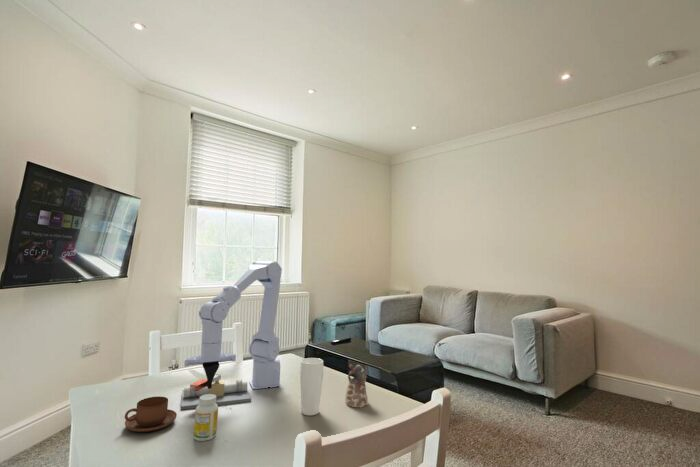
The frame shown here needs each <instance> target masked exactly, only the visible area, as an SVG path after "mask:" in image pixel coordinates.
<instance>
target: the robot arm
mask: <svg viewBox="0 0 700 467" xmlns="http://www.w3.org/2000/svg"><path fill="white" fill-rule="evenodd" d="M282 271H283V270H282V267H281V265H280V264H279V262H277V261H266V260H265V261H261V260H255V261H253V262H252V263H251V264H249V266H248V268H247V270H246V271H245V273H244V274H243V275H242V276H241V277H239V279H238V280H237V281H236V282H235V283H234V284H233V285H227V286H224V287H222V291H221V292H220V293H218V294H217V295H216V296H213V298H212V300H211V301H206V302H205V303H204V304H203V305H202V306H201V307H200V310H199V311H198V315H199V318H200V320H201V325H202V327H201V328H202V329H201V330H202V331H201V348H200V355H197V356H193V357H192V356H191V357H187V358H186V357H185V358H184V360H183V366H184V367H185V368H186V367H189V366H199V365H202V368H203V370H204V373H205V376H206V379H207V387H208V389H211V387H212V381H213V378H214V376H215V374H217V371H218V370H219V368H220V363H223V362H224V363H225V362H236V360H237V359H236V358H237V355H236V353H233V352H232V353H222V340H223V339H222V338H223V321H224V320H226V318H227V316H228V314H229V311H230V309H231V308H232V307H233V306H234V305H235V304H236V303H237V302H238V301H239V300H240V299H241V297H242V293H243V292H244V291H245V290H247V288H249V286H252V284H254V283H255V282H256V281H257V282H259V283H261V285H262V286H263V287H264V290H263V299H262V304H261V311H260V318H259V319H260V320H259V326H258V331H256V333H254V334H253V335H252V339H251V341H250V344H249V347H248V351H249V354H250V356H251V359H252V378H251V380H250V381H249V385H250V386H251V389H252V390H258V389H260V390H261V389H268V387H270V388H277V386H279V387H280V386H281V383H280V382H281V361H280V358H278V356H279V353H280V345H279V342H280V338H279V337H278V335H277V334H276V333H275V325H276V320H277V318H276V317H277V311H278V310H277V309H278V304H279V303H278V302H279V295H280V290H281V279H282V278H281V277H282Z"/></svg>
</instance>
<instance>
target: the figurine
mask: <svg viewBox="0 0 700 467" xmlns="http://www.w3.org/2000/svg"><path fill="white" fill-rule="evenodd" d="M348 367H349V369H350V371H349V372H348V376H347V379H348V382H347V383H348V384H347V387H346V392H345V404H346V405H347V406H348V405H349V406H348V407H350V406H352V407H351V408H353V407H360V408H363V407H362V406H365V405H367V406H368V404H369V403H368V401H369V400H368V394H367V387H366V382H367V378H368V375H367V374H366V371H365V369H364V368H363V367H362V366H361V364H356V365H355V367H354V365H353V364H349V366H348ZM351 375H353V377H351ZM367 403H368V404H367ZM365 407H366V406H365Z"/></svg>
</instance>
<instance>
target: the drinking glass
mask: <svg viewBox="0 0 700 467" xmlns="http://www.w3.org/2000/svg"><path fill="white" fill-rule="evenodd" d="M299 373H300V402H301V404H300V405H301V408H300V410H301V414H302V415H304V416H309V417H310V416H311V417H312V416H316V415H318V414H319V412H320V402H321V395H322V387H323V386H322V385H323V380H324V379H323V378H324V360H323V359H321V358H317V357H307V358H303V359H301V361H300V372H299Z"/></svg>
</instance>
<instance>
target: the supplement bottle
mask: <svg viewBox="0 0 700 467" xmlns="http://www.w3.org/2000/svg"><path fill="white" fill-rule="evenodd" d="M215 402H216V395H214V394H205V395H202V396H200V398H199V405H198V406H197V407H196V408H195V414H194V425H193V426H194V427H193V438H194V440H195V441H198V442H206V441H207V442H208V441H210V440H212V439H213V438H215V437H216V435H217V428H218V416H219V405H217V404H216V403H215Z"/></svg>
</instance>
